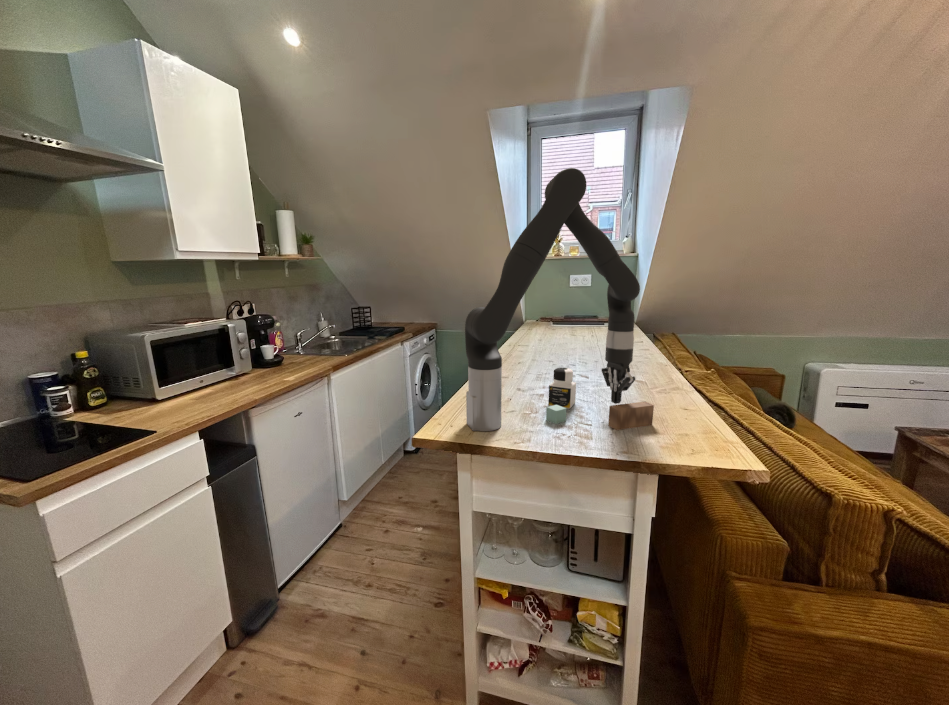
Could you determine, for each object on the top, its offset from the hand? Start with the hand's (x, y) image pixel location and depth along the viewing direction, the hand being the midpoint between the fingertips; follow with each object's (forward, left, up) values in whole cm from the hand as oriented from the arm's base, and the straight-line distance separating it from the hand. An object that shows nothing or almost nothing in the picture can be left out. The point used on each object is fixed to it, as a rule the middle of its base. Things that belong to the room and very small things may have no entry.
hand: (615, 402), depth 120 cm
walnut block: (-7, -8, -1) cm, 10 cm away
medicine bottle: (-10, +14, -4) cm, 18 cm away
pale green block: (-19, +2, -4) cm, 19 cm away
